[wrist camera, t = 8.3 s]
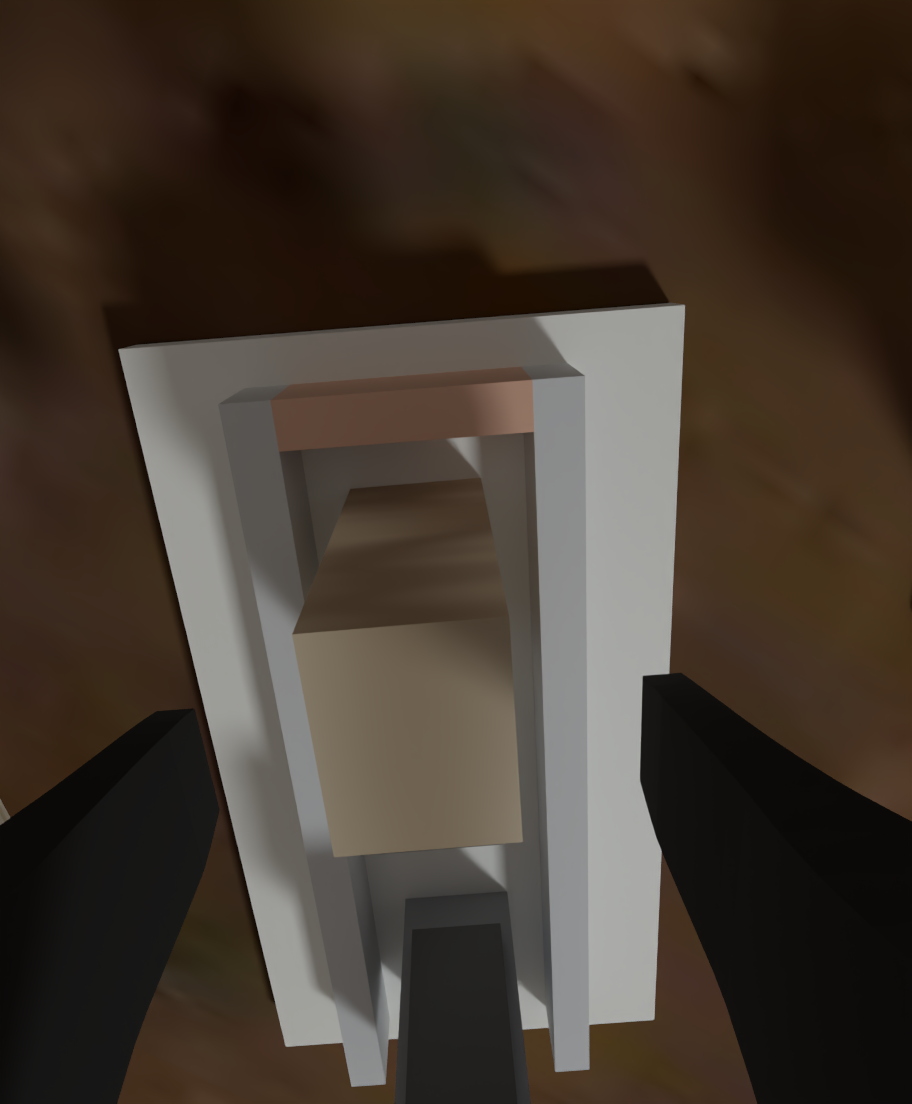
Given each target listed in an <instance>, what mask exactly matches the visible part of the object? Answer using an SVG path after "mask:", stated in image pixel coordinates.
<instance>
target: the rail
mask: <svg viewBox="0 0 912 1104" xmlns="http://www.w3.org/2000/svg"><path fill="white" fill-rule="evenodd" d="M684 317H685V305H682V304H675V303H663V304H650V305H637V306H625V307H612V308H599V309H586V310H574V311H561V312H548V313H535V314H523V315H510V316H497V317H484V318H472V319H459V320H446V321H433V322H421V323H408V324H395V325H382V326H370V327H357V328H344V329H331V330H319V331H306V332H293V333H280V334H268V335H255V336H242V337H229V338H217V339H204V340H191V341H179V342H166V343H153V344H140V345H134V346H130V347H126V348H122V349H118V351H119V355H120V359H121V363H122V367H123V371H124V375H125V380H126V384H127V388H128V392H129V396H130V400H131V405H132V409H133V413H134V417H135V421H136V425H137V430H138V434H139V438H140V442H141V446H142V450H143V454H144V459H145V463H146V467H147V471H148V475H149V479H150V484H151V488H152V492H153V496H154V500H155V504H156V509H157V513H158V517H159V521H160V525H161V529H162V534H163V538H164V542H165V546H166V550H167V554H168V558H169V563H170V567H171V571H172V575H173V579H174V583H175V588H176V592H177V596H178V600H179V604H180V608H181V613H182V617H183V621H184V625H185V629H186V633H187V637H188V642H189V646H190V650H191V654H192V658H193V662H194V667H195V671H196V675H197V679H198V683H199V687H200V692H201V696H202V700H203V704H204V708H205V712H206V717H207V721H208V725H209V729H210V733H211V737H212V741H213V746H214V750H215V754H216V758H217V762H218V766H219V771H220V775H221V779H222V783H223V787H224V791H225V796H226V800H227V804H228V808H229V812H230V816H231V820H232V825H233V829H234V833H235V837H236V841H237V845H238V850H239V854H240V858H241V862H242V866H243V870H244V875H245V879H246V883H247V887H248V891H249V895H250V900H251V904H252V908H253V912H254V916H255V920H256V924H257V929H258V933H259V937H260V941H261V945H262V949H263V954H264V958H265V962H266V966H267V970H268V974H269V979H270V983H271V987H272V991H273V995H274V999H275V1003H276V1008H277V1012H278V1016H279V1020H280V1024H281V1028H282V1033H283V1037H284V1041H285V1045H286V1047H289V1046H303V1045H316V1044H330V1043H343V1045H344V1050H345V1056H346V1061H347V1066H348V1071H349V1076H350V1081H351V1086H352V1087H354V1086H368V1085H382V1084H386V1069H387V1053H388V1039H398V1051H397V1070H396V1089H395V1104H531V1101H530V1092H529V1083H528V1074H527V1065H526V1056H525V1047H524V1038H523V1029H536V1028H549V1032H550V1039H551V1046H552V1053H553V1060H554V1067H555V1072H561V1071H574V1070H588V1069H589V1025H591V1024H604V1023H618V1022H632V1021H645V1020H654V1012H655V989H656V966H657V943H658V919H659V896H660V873H661V848H660V845H659V843H658V841H657V838H656V835H655V832H654V828H653V825H652V822H651V818H650V815H649V812H648V808H647V804H646V801H645V797H644V793H643V790H642V786H641V782H640V754H641V718H642V681H643V676H645V675H659V674H669V665H670V641H671V618H672V595H673V572H674V549H675V526H676V502H677V479H678V456H679V433H680V410H681V387H682V363H683V340H684ZM471 478H481V481H482V486H483V490H484V495H485V500H486V505H487V510H488V515H489V520H490V525H491V530H492V534H493V539H494V544H495V549H496V554H497V559H498V564H499V569H500V574H501V578H502V583H503V588H504V593H505V598H506V603H507V608H508V613H509V621H510V638H511V654H512V671H513V687H514V704H515V720H516V737H517V753H518V770H519V787H520V803H521V820H522V836H523V842H518V843H505V844H502V845H490V846H477V847H465V848H452V849H440V850H428V851H415V852H403V853H391V854H378V855H366V856H360V855H357V856H345V857H334V855H333V849H332V844H331V839H330V833H329V828H328V823H327V817H326V812H325V807H324V802H323V796H322V791H321V786H320V780H319V775H318V770H317V764H316V759H315V754H314V748H313V743H312V738H311V733H310V727H309V722H308V717H307V711H306V706H305V701H304V695H303V690H302V685H301V679H300V674H299V669H298V664H297V658H296V653H295V648H294V642H293V637H292V633H293V631H294V628H295V626H296V623H297V621H298V618H299V616H300V613H301V611H302V608H303V606H304V603H305V601H306V598H307V596H308V593H309V591H310V588H311V586H312V583H313V581H314V578H315V576H316V573H317V571H318V568H319V566H320V563H321V561H322V558H323V556H324V553H325V551H326V548H327V546H328V543H329V541H330V538H331V536H332V533H333V531H334V528H335V526H336V523H337V521H338V518H339V516H340V513H341V511H342V508H343V506H344V503H345V501H346V498H347V496H348V493H349V491H350V489H354V488H366V487H378V486H389V485H401V484H413V483H425V482H436V481H448V480H460V479H471Z"/></svg>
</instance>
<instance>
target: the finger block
mask: <svg viewBox="0 0 912 1104" xmlns="http://www.w3.org/2000/svg"><path fill="white" fill-rule="evenodd" d="M292 637H293V642H294V648H295V653H296V658H297V664H298V669H299V674H300V679H301V685H302V690H303V695H304V701H305V706H306V711H307V717H308V722H309V727H310V733H311V738H312V743H313V748H314V754H315V759H316V764H317V770H318V775H319V780H320V786H321V791H322V796H323V802H324V807H325V812H326V817H327V823H328V828H329V833H330V839H331V844H332V849H333V855H334V857H345V856H357V855H360V856H366V855H378V854H391V853H403V852H415V851H428V850H440V849H452V848H465V847H477V846H490V845H502V844H505V843H518V842H523V836H522V820H521V803H520V787H519V770H518V753H517V737H516V720H515V704H514V687H513V671H512V654H511V638H510V621H509V613H508V608H507V603H506V598H505V593H504V588H503V583H502V578H501V574H500V569H499V564H498V559H497V554H496V549H495V544H494V539H493V534H492V530H491V525H490V520H489V515H488V510H487V505H486V500H485V495H484V490H483V486H482V481H481V478H471V479H460V480H448V481H436V482H425V483H413V484H401V485H389V486H378V487H366V488H354V489H350V491H349V493H348V496H347V498H346V501H345V503H344V506H343V508H342V511H341V513H340V516H339V518H338V521H337V523H336V526H335V528H334V531H333V533H332V536H331V538H330V541H329V543H328V546H327V548H326V551H325V553H324V556H323V558H322V561H321V563H320V566H319V568H318V571H317V573H316V576H315V578H314V581H313V583H312V586H311V588H310V591H309V593H308V596H307V598H306V601H305V603H304V606H303V608H302V611H301V613H300V616H299V618H298V621H297V623H296V626H295V628H294V631H293V633H292Z"/></svg>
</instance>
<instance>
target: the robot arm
mask: <svg viewBox="0 0 912 1104" xmlns="http://www.w3.org/2000/svg"><path fill="white" fill-rule="evenodd" d="M640 782H641V786H642V790H643V793H644V797H645V801H646V804H647V808H648V812H649V815H650V818H651V822H652V825H653V828H654V832H655V835H656V838H657V841H658V843H659V845H660V848H661V850H662V853H663V855H664V858H665V860H666V862H667V865H668V867H669V869H670V872H671V874H672V876H673V879H674V881H675V884H676V886H677V888H678V891H679V893H680V895H681V897H682V900H683V902H684V904H685V907H686V909H687V911H688V914H689V916H690V918H691V921H692V923H693V925H694V928H695V930H696V932H697V935H698V937H699V939H700V942H701V944H702V946H703V949H704V951H705V953H706V956H707V958H708V960H709V963H710V965H711V967H712V970H713V972H714V975H715V977H716V980H717V982H718V985H719V988H720V990H721V993H722V995H723V998H724V1001H725V1003H726V1006H727V1009H728V1012H729V1015H730V1018H731V1022H732V1025H733V1028H734V1031H735V1034H736V1037H737V1040H738V1043H739V1046H740V1049H741V1053H742V1056H743V1059H744V1062H745V1065H746V1068H747V1071H748V1074H749V1077H750V1081H751V1084H752V1087H753V1090H754V1094H755V1097H756V1100H757V1103H758V1104H912V821H910V820H908V819H906V818H904V817H902V816H900V815H898V814H896V813H894V812H893V811H891V810H889V809H887V808H885V807H883V806H881V805H879V804H878V803H876V802H874V801H872V800H870V799H868V798H866V797H864V796H863V795H861V794H859V793H857V792H855V791H854V790H852V789H850V788H848V787H847V786H845V785H843V784H842V783H840V782H838V781H836V780H835V779H833V778H832V777H830V776H828V775H827V774H825V773H824V772H822V771H820V770H819V769H817V768H816V767H814V766H812V765H811V764H809V763H808V762H806V761H804V760H803V759H801V758H800V757H798V756H797V755H795V754H794V753H792V752H791V751H789V750H788V749H786V748H785V747H783V746H782V745H780V744H779V743H777V742H776V741H774V740H773V739H771V738H770V737H768V736H767V735H766V734H764V733H763V732H761V731H760V730H759V729H757V728H756V727H754V726H753V725H752V724H750V723H749V722H747V721H746V720H745V719H743V718H742V717H741V716H739V715H738V714H736V713H735V712H734V711H732V710H731V709H730V708H728V707H727V706H726V705H724V704H723V703H722V702H720V701H719V700H718V699H716V698H715V697H714V696H712V695H711V694H710V693H708V692H707V691H706V690H704V689H703V688H702V687H700V686H699V685H697V684H696V683H695V682H693V681H692V680H691V679H689V678H688V677H686V676H685V675H683V674H682V673H673V674H659V675H645V676H643V681H642V718H641V754H640ZM218 814H219V806H218V802H217V798H216V794H215V790H214V786H213V782H212V778H211V774H210V770H209V766H208V762H207V758H206V754H205V750H204V746H203V742H202V738H201V733H200V729H199V725H198V721H197V717H196V713H195V709H182V710H168V711H157V712H155V713H153V714H152V715H150V716H149V717H147V718H146V719H144V720H143V721H141V722H140V723H138V724H137V725H136V726H134V727H133V728H132V729H130V730H129V731H128V732H126V733H125V734H123V735H122V736H121V737H119V738H118V739H117V740H116V741H114V742H113V743H112V744H110V745H109V746H108V747H106V748H105V749H104V750H102V751H101V752H100V753H98V754H97V755H96V756H95V757H93V758H92V759H91V760H89V761H88V762H87V763H85V764H84V765H83V766H81V767H80V768H79V769H77V770H76V771H75V772H73V773H72V774H71V775H69V776H68V777H67V778H65V779H64V780H63V781H61V782H60V783H59V784H57V785H56V786H55V787H53V788H52V789H51V790H49V791H48V792H47V793H45V794H44V795H42V796H41V797H39V798H38V799H37V800H35V801H34V802H32V803H31V804H30V805H28V806H27V807H25V808H24V809H22V810H21V811H20V812H18V813H17V814H15V815H14V816H12V817H11V818H10V819H8V820H7V821H5V822H4V823H3V824H1V825H0V1104H117V1101H118V1098H119V1095H120V1092H121V1088H122V1085H123V1082H124V1078H125V1075H126V1072H127V1068H128V1065H129V1062H130V1058H131V1055H132V1052H133V1049H134V1045H135V1043H136V1040H137V1037H138V1034H139V1032H140V1029H141V1026H142V1023H143V1021H144V1018H145V1015H146V1012H147V1010H148V1007H149V1005H150V1003H151V1000H152V998H153V995H154V993H155V990H156V988H157V985H158V983H159V981H160V978H161V976H162V973H163V971H164V968H165V966H166V963H167V961H168V959H169V956H170V954H171V951H172V949H173V946H174V944H175V941H176V939H177V937H178V934H179V932H180V929H181V927H182V924H183V922H184V919H185V917H186V914H187V912H188V909H189V907H190V904H191V902H192V899H193V897H194V894H195V892H196V889H197V887H198V884H199V882H200V879H201V877H202V874H203V871H204V868H205V865H206V861H207V857H208V854H209V850H210V847H211V843H212V839H213V835H214V831H215V826H216V822H217V818H218Z"/></svg>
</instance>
